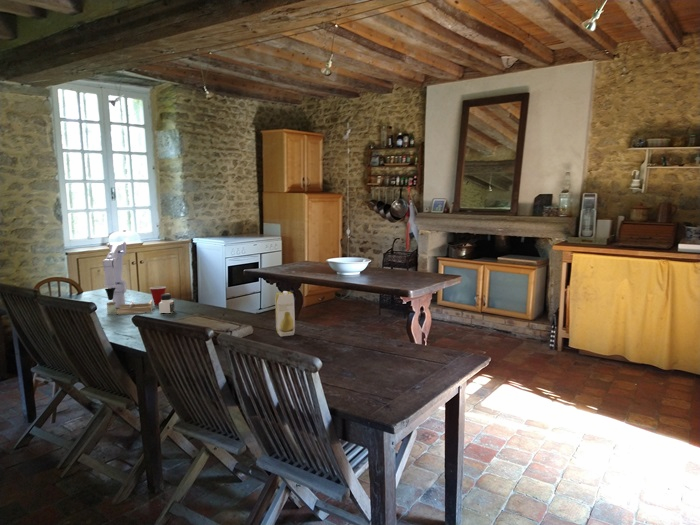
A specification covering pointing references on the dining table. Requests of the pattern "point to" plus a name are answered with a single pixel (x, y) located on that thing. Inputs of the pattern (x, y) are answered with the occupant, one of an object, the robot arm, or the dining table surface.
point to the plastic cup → (157, 293)
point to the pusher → (131, 304)
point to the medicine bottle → (166, 304)
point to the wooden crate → (135, 308)
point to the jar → (111, 308)
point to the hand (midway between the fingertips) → (110, 299)
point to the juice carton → (285, 313)
